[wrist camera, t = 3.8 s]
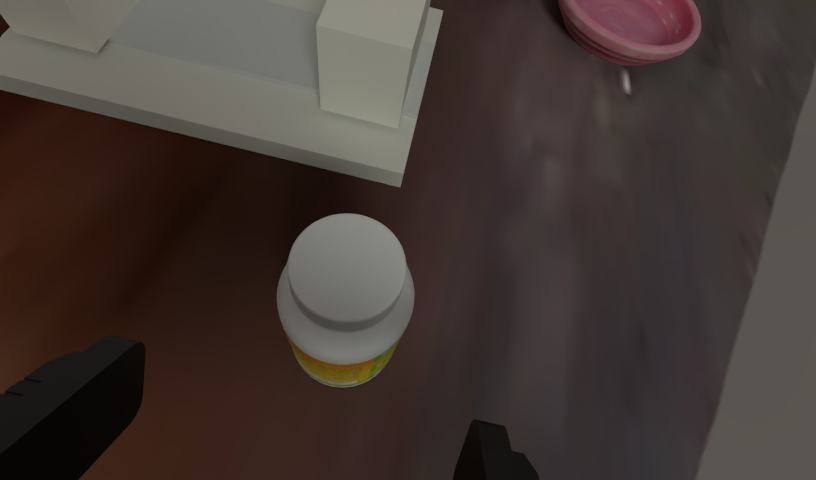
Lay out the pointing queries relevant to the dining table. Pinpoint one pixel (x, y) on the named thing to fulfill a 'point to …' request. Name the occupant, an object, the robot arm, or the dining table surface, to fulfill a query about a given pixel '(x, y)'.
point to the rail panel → (237, 71)
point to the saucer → (632, 28)
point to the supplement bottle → (345, 298)
